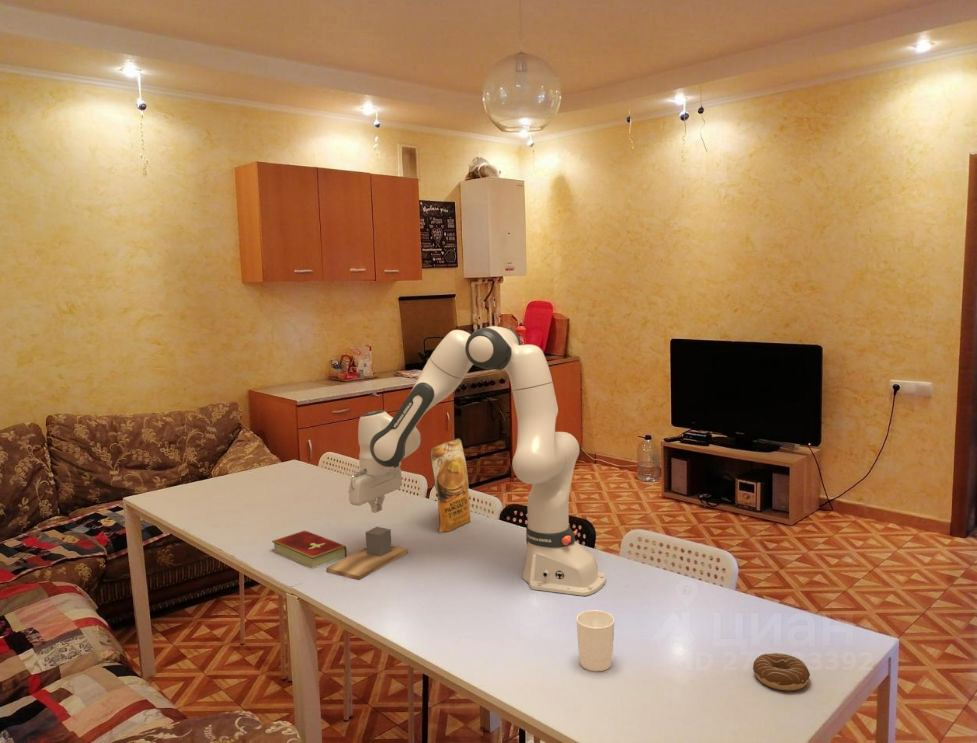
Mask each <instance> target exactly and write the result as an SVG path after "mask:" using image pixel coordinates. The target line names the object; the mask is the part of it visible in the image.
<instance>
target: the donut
mask: <svg viewBox="0 0 977 743" xmlns="http://www.w3.org/2000/svg"><path fill="white" fill-rule="evenodd" d="M752 670H753V673H754V675H755V677H756V678H757V679H758V681H760V682H761V683H762V684H763V685H766V686H767V687H770V688H772V689H775V690H778V691H779V690H780V691H784V692H785V691H787V692H790V691H797V690H801V689H803V688H804V687H805V686H806V685H807V684H808V682H809V680H810V676H811V674H810V671H809V668H808V667H807V665H806V664H805V662H804V661H802V660H801V659H800V658H797V657H795V656H792V655H790V654H787V653H778V652H773V653H772V652H771V653H764V654H761V655H759V656H758V657H757V658H756V659H755V660H754V661H753V665H752Z"/></svg>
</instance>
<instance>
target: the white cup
mask: <svg viewBox="0 0 977 743" xmlns="http://www.w3.org/2000/svg"><path fill="white" fill-rule="evenodd" d="M576 632H577V634H576V635H577V646H578V647H577V648H578V655H579V656H578V657H579V658H578V659H579V664H580V665H581V666H580V667H582V668H584V669H585V670H588V671H590V672H603V671H607V670H608V669H609V668H611V667H612V663H613V662H612V660H613V653H614V651H613V650H614V636H615V634H614V633H615V618H614V616H613V615H612V614H610V613H608V612H606V611H603V610H595V609H592V610H586V611H582V612H579V613H578V615H576Z"/></svg>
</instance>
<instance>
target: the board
mask: <svg viewBox="0 0 977 743" xmlns="http://www.w3.org/2000/svg"><path fill="white" fill-rule="evenodd" d="M391 550H392V551H390V552H388V553H386V554H385V555H383V556H381V557H379V556H375V555H371V554H367V551H366V547H364V548H362V549H360V550H358V551H357V552H355V553H352V554H350V555H348V556H347V557H343V558H342V559H340V560H339V561H337V562H334V563H333V564H331V565H329V566H327V567H326V573H329V574H333V575H337V576H342V577H345V578H349V579H353V580H358V581H360V580H362V579H364V578H365V577H367V576H369V575H371V574H372V573H374V572H377V571H378V570H380V569H381V568H384V567H385V566H386V565H389V564H390V563H392V562H394V561H396V560H397V559H399V558H401V557H403V556H404V555H406V554H408V553H409V552H408V551H409V550H408V548H406V547H401V546H396V545H392V544H391Z"/></svg>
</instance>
